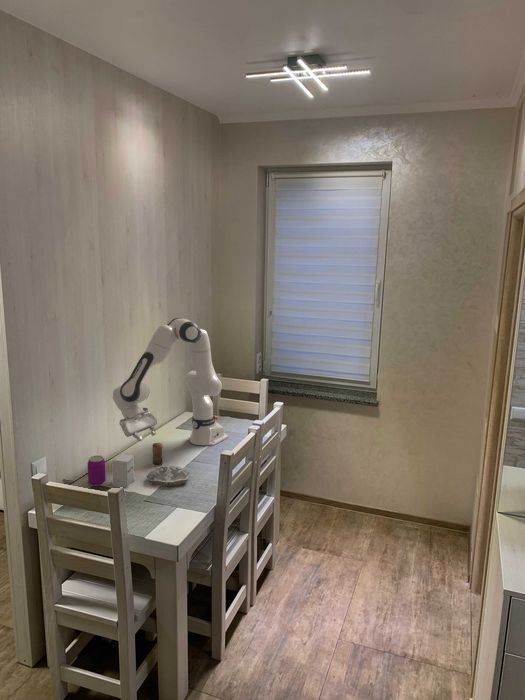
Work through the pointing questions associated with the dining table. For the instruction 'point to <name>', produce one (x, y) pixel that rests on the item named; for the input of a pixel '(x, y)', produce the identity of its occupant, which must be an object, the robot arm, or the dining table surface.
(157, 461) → the walnut pepper mill
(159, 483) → the brain slice
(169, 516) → the dining table surface
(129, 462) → the supplement box
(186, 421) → the dining table surface
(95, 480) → the beverage can
